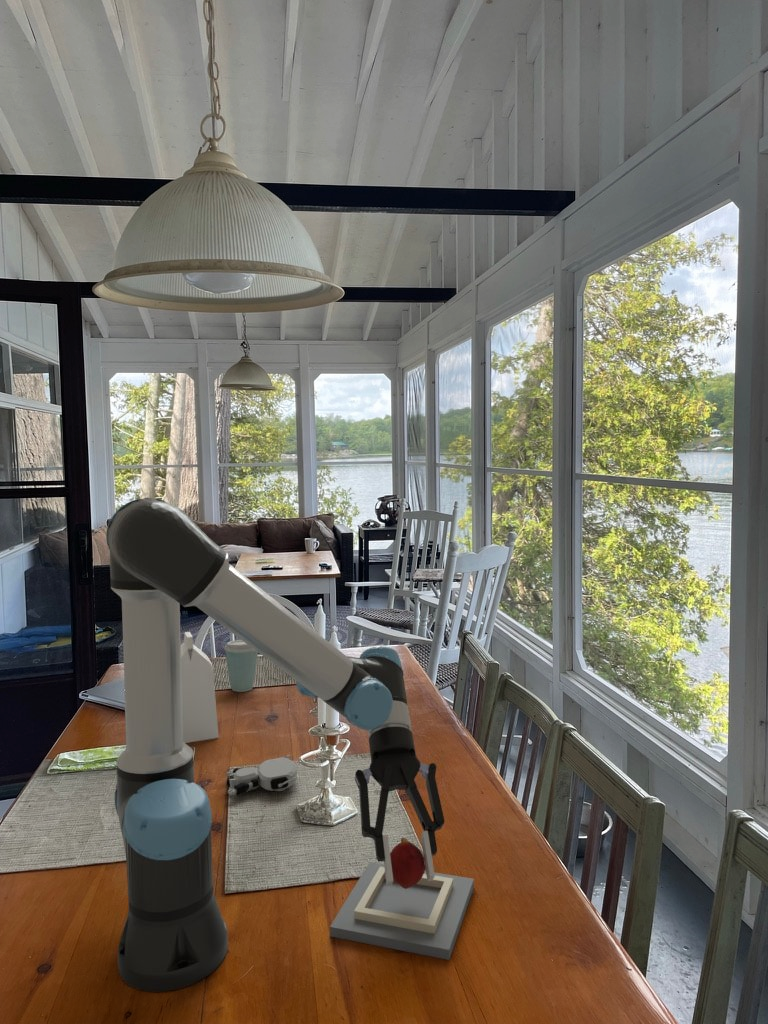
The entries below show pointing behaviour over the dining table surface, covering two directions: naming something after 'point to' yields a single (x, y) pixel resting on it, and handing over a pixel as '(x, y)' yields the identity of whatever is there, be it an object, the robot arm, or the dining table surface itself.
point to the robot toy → (263, 776)
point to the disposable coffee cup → (241, 665)
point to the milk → (197, 693)
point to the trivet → (405, 913)
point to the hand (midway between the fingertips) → (410, 880)
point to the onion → (407, 864)
